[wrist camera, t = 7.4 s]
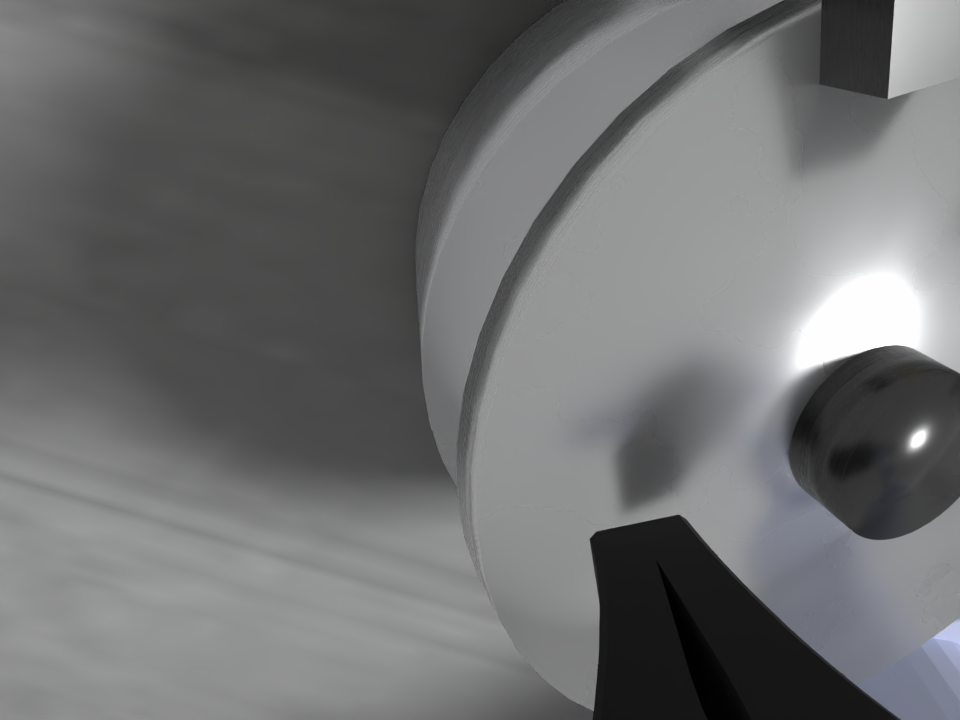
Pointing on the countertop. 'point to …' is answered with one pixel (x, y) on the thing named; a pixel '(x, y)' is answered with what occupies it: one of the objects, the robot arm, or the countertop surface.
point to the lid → (740, 343)
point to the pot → (531, 160)
